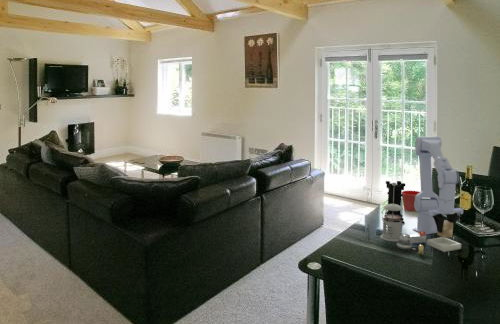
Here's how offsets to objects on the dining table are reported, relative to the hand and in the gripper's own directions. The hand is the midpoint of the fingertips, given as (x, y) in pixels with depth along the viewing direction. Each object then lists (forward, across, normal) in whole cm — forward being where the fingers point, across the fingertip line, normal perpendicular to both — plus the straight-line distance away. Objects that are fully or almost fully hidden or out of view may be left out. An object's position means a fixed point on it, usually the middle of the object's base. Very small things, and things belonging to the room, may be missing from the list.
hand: (444, 231), depth 161 cm
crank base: (+7, -15, 0) cm, 17 cm away
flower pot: (+7, +20, +54) cm, 58 cm away
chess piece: (+7, -1, +36) cm, 37 cm away
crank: (+5, -12, +3) cm, 14 cm away
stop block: (+2, 0, 0) cm, 2 cm away
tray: (+7, 0, 0) cm, 7 cm away
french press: (+7, -15, +16) cm, 23 cm away
